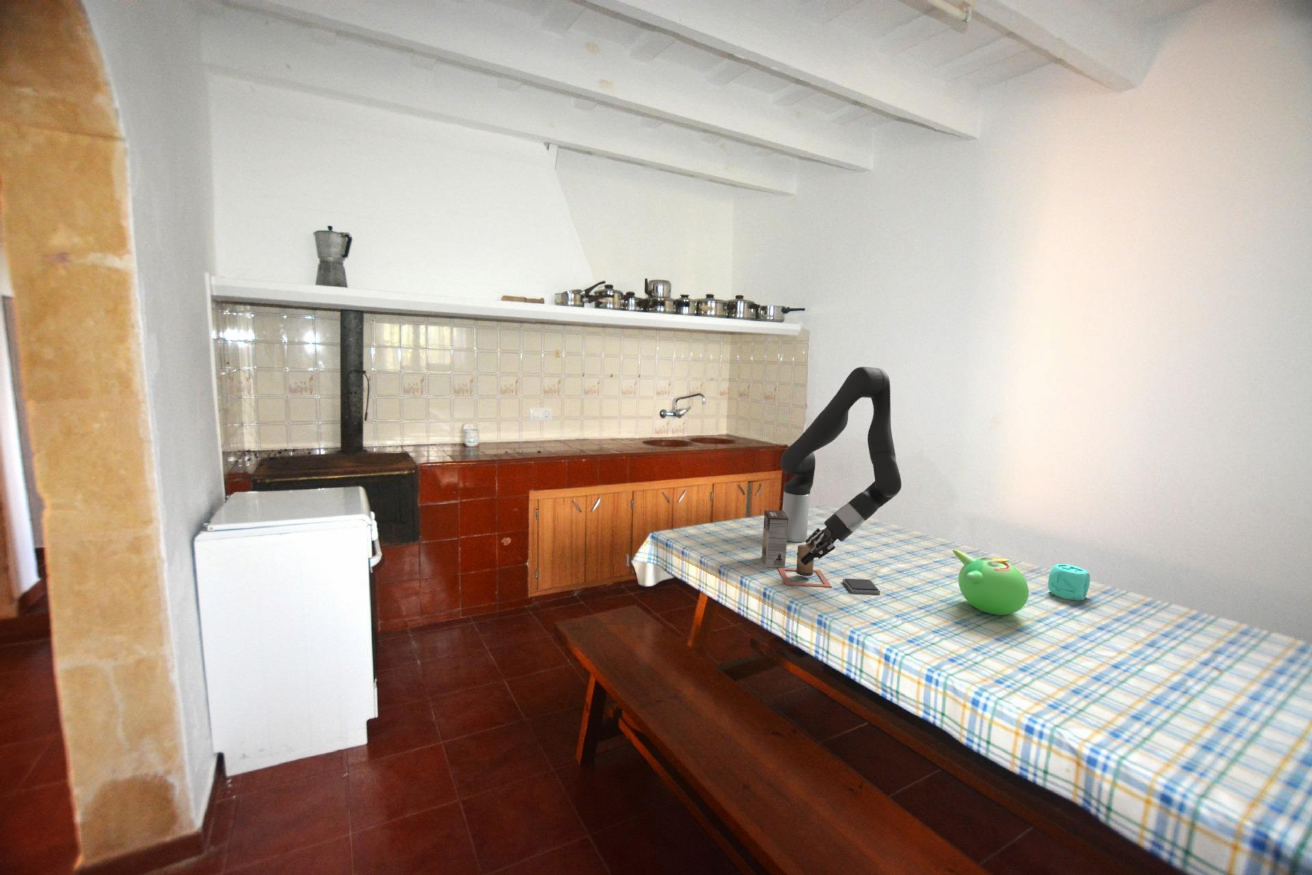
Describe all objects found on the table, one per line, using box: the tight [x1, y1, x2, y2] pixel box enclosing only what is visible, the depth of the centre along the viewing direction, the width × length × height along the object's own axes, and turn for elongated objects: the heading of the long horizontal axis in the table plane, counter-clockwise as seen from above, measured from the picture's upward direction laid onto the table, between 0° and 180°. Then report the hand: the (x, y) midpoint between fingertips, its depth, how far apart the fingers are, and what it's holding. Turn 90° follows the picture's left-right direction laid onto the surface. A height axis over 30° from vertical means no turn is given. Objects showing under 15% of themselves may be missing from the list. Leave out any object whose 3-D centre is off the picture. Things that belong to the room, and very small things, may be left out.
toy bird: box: [952, 549, 1030, 616], centre depth 152 cm, size 18×17×15 cm
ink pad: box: [842, 578, 881, 595], centre depth 165 cm, size 8×8×1 cm
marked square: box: [777, 567, 832, 588], centre depth 171 cm, size 13×13×1 cm
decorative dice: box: [1047, 563, 1091, 602], centre depth 165 cm, size 8×8×8 cm
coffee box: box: [761, 509, 789, 568], centre depth 182 cm, size 9×6×16 cm
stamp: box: [795, 544, 815, 577], centre depth 170 cm, size 5×5×8 cm
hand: (800, 559), depth 170 cm, fingers closed on stamp, 4 cm apart
